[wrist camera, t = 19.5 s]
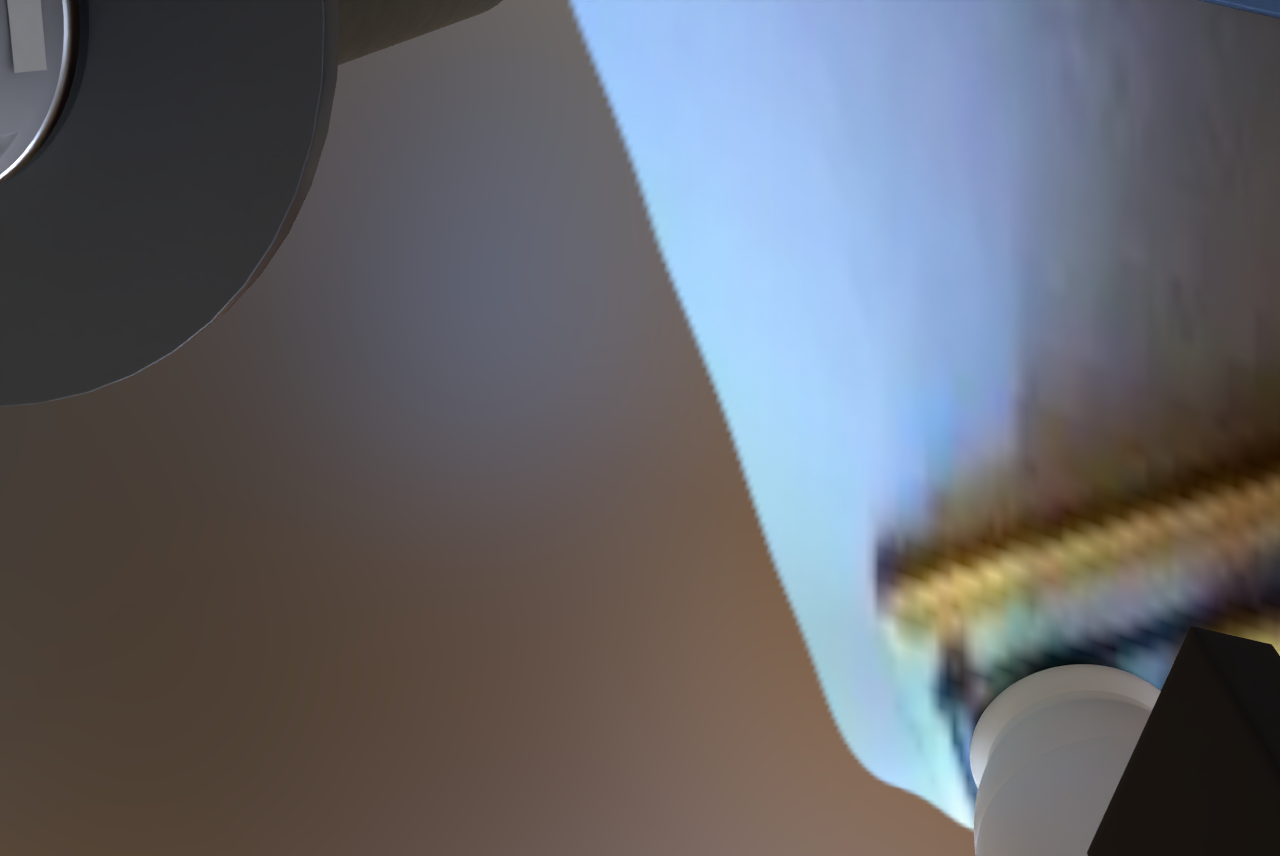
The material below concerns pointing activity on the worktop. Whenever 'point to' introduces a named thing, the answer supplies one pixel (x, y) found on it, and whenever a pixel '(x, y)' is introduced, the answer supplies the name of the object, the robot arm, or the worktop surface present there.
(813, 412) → the worktop surface
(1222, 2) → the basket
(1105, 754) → the jar
